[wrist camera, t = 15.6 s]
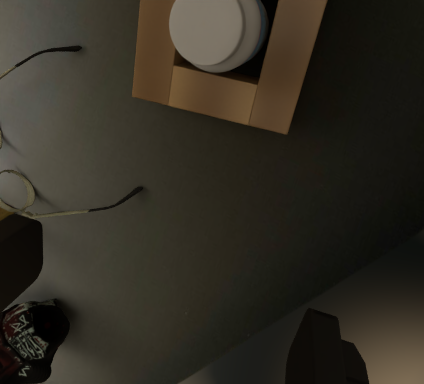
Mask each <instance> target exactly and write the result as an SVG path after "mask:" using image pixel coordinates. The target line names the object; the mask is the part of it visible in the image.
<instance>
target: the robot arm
mask: <svg viewBox="0 0 424 384" xmlns="http://www.w3.org/2000/svg"><path fill="white" fill-rule="evenodd" d="M42 266H43V233H42V224H41V223H40V222H39V221H37V220H34V219H31V218H28V217H25V216H21V215H18V214H11V215H9V216H7V217H5V218H4V219H2V220H1V221H0V313H1V312H2V311H3V310H4V309H5V308H6V307H7V306H8V305H10V304H11V303H12V302H13V301H14V300H15V299H16V298H17V297H18V296H19V295H20V294H21V293H23V292H24V291H25V290H26V289H27V288H28V287H29V286H30V285H31V284H32V283H33V282H34V281H35V280H36V279H37V277H38V276H39V274H40V272H41V269H42ZM285 384H369V380H368V375H367V370H366V365H365V362H364V360H363V359H362V357H361V355H360V353H359V352H358V350H357V348H356V347H355V345H354V344H353V343H351V342H347V341H345V340H342V339H341V335H340V328H339V321H338V318H337V317H336V316H332V315H330V314H326V313H323V312H320V311H317V310H314V309H311V308H308V309H307V311H306V313H305V315H304V317H303V319H302V322H301V324H300V326H299V329H298V331H297V333H296V336H295V338H294V340H293V342H292V345H291V347H290V350H289V354H288V358H287V364H286V375H285Z"/></svg>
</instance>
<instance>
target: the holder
mask: <svg viewBox="0 0 424 384" xmlns="http://www.w3.org/2000/svg"><path fill="white" fill-rule="evenodd" d="M175 1H176V0H140V10H139V22H138V34H137V45H136V57H135V69H134V81H133V92H132V97H136V98H140V99H144V100H148V101H152V102H156V103H160V104H164V105H168V106H172V107H176V108H180V109H184V110H188V111H192V112H196V113H200V114H204V115H208V116H212V117H216V118H220V119H225V120H229V121H233V122H237V123H241V124H245V125H249V126H253V127H257V128H261V129H265V130H269V131H274V132H278V133H282V134H286V135H287V134H288V131H289V128H290V124H291V121H292V118H293V114H294V111H295V108H296V104H297V101H298V97H299V94H300V91H301V87H302V84H303V81H304V77H305V74H306V71H307V67H308V64H309V61H310V57H311V54H312V51H313V47H314V44H315V40H316V37H317V34H318V30H319V27H320V24H321V20H322V17H323V14H324V10H325V7H326V4H327V0H278V4H277V8H276V12H275V17H274V21H273V25H272V29H271V33H270V37H269V41H268V45H267V50H266V54H265V58H264V62H263V66H262V70H261V74H260V78H258V77H253V76H249V75H245V74H240V73H236V72H231V71H226V72H219V73H214V72H208V71H204V70H202V69H200V68H198V67H196V66H194V65H193V64H192V63H191V62H188V60H186V59H185V58H184V57H183V56H182V55H181V54H180V53H179V52H178V50H177V49H176V47H175V46H174V44H173V41H172V39H171V35H170V29H169V19H170V13H171V9H172V7H173V4H174V2H175Z"/></svg>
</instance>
